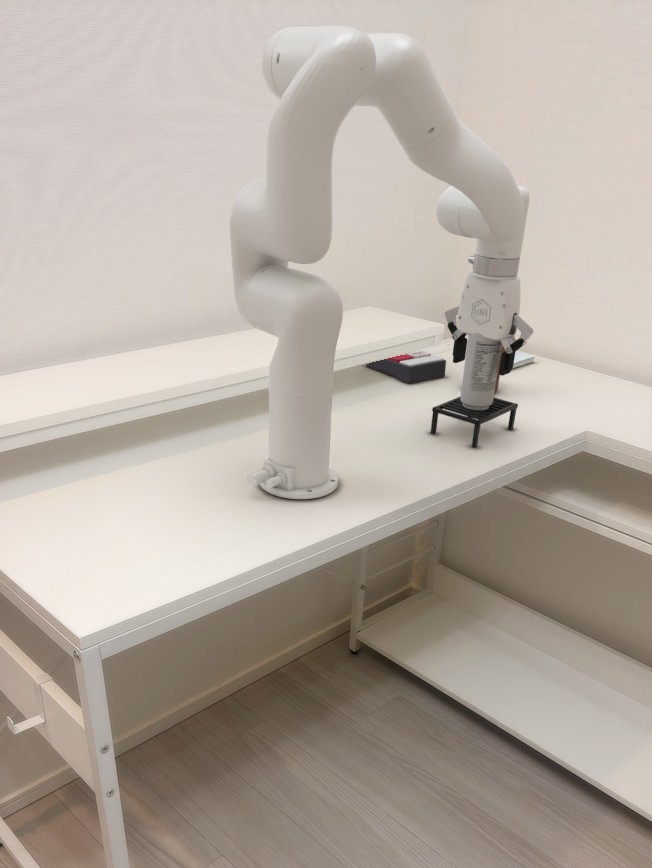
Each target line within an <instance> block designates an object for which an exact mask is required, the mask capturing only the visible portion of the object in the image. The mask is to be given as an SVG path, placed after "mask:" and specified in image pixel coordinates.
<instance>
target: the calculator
mask: <svg viewBox="0 0 652 868" xmlns="http://www.w3.org/2000/svg"><path fill="white" fill-rule="evenodd" d="M446 366H447V360H446V359H444V358H442V357H441V356H440V357H439V356H436V355H432V353H429V352H426V351H423V350H420V351H419V352H415V353H412V354H405V355H400V356H396V357H392V358H388V359H384V360H380V361H376V362H372V363H369V364H367V363H366V367H367V368H370V369H372V370H376V371H379V372H382V373H386V374H387V375H391V376H394V377H395V378H396V380H398V381H401V382H403V383H407V384H414V383H418V382H424V381H428V380H433V379H438V378H443V377H445V376H446V369H447V368H446Z"/></svg>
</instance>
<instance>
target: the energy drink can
mask: <svg viewBox="0 0 652 868" xmlns="http://www.w3.org/2000/svg"><path fill="white" fill-rule="evenodd" d="M501 347H502V343H501V341H500V340H499V341H495V340H490V339H487V338H485V337H483V336H482V335H481V334H480V333H473V334H468V337H467V348H466V356H465V360H464V368H463V375H462V383H461V389H460V396H461V397H460V396H459V397H460V400H461V402H462V403H463V404H462V405H463V406H464V407H465V408H468V409H472V410H486V409H488V408H489V405H491V404H492V403H493V398H494V397H495V393H494V391H495V385H496V378H497V372H498V366H499V359H500V353H501Z"/></svg>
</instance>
